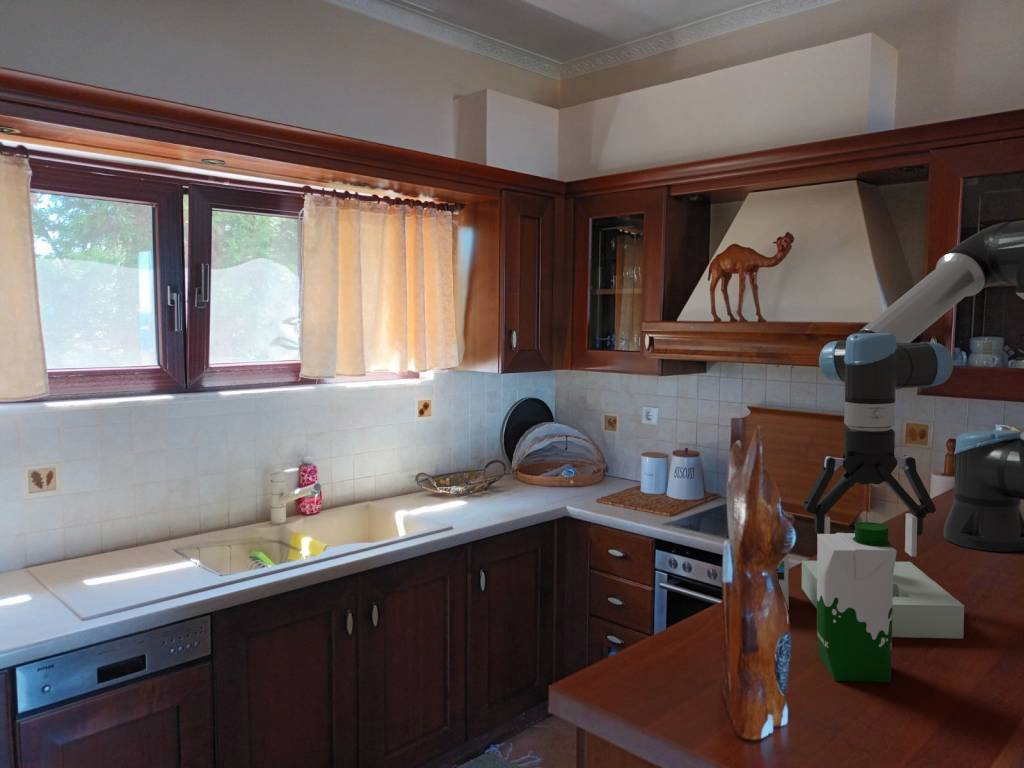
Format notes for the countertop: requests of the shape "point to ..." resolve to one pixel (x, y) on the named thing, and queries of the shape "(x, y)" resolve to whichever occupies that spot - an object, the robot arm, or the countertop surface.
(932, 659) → the countertop surface
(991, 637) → the countertop surface
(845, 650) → the milk carton
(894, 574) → the board
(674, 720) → the countertop surface
